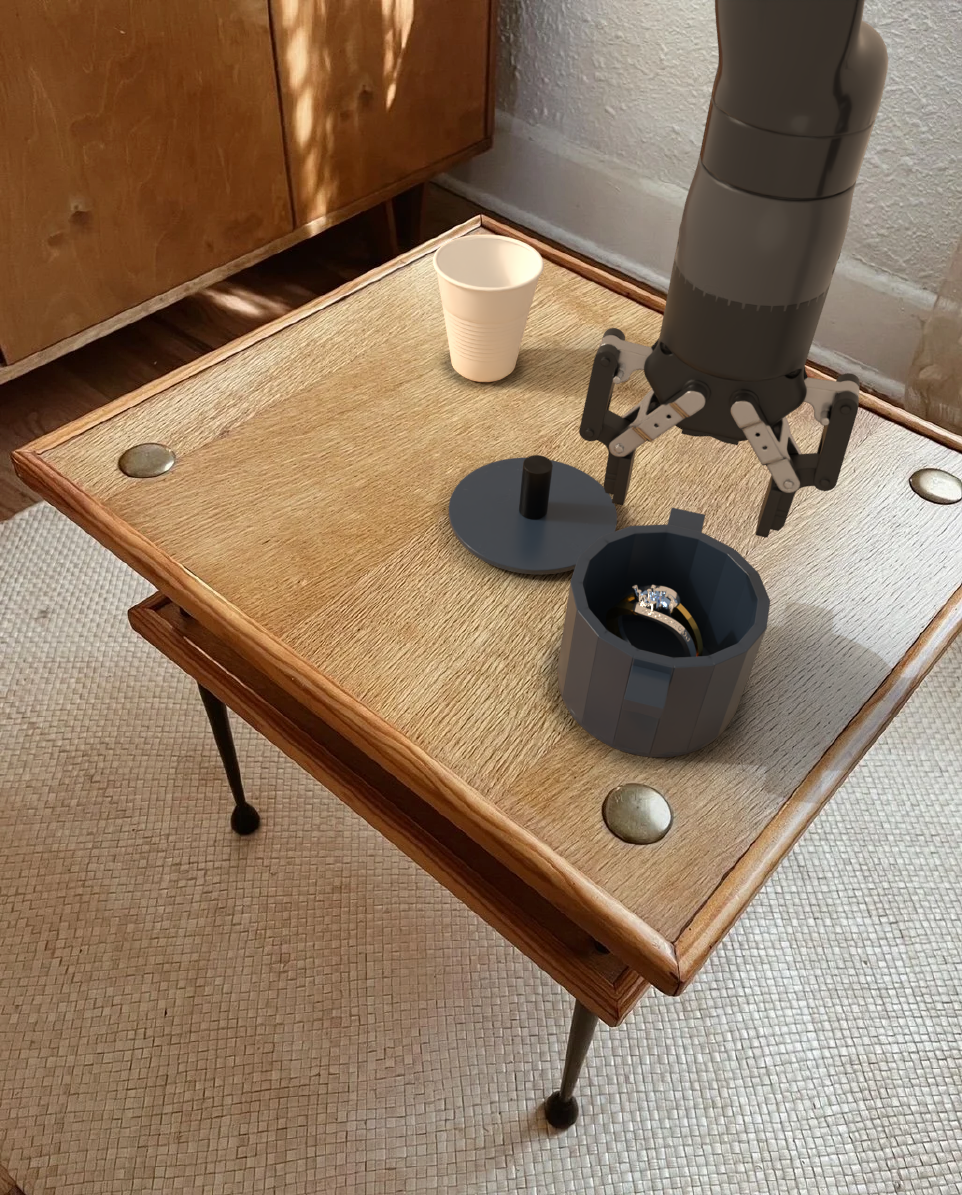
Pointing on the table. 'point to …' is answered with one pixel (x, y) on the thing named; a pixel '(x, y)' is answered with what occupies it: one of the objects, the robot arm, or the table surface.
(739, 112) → the robot arm
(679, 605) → the ring
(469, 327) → the cup
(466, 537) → the lid
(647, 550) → the pot
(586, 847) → the table surface
